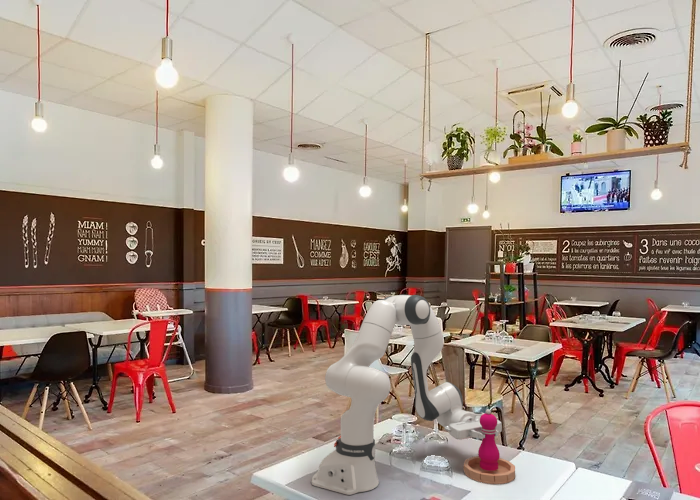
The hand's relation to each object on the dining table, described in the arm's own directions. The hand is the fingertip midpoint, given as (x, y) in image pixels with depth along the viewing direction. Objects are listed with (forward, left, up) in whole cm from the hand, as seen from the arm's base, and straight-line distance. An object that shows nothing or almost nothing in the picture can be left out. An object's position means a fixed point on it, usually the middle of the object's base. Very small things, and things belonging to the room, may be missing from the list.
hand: (490, 435), depth 170 cm
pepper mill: (-1, +1, -11) cm, 12 cm away
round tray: (-1, +1, -13) cm, 13 cm away
